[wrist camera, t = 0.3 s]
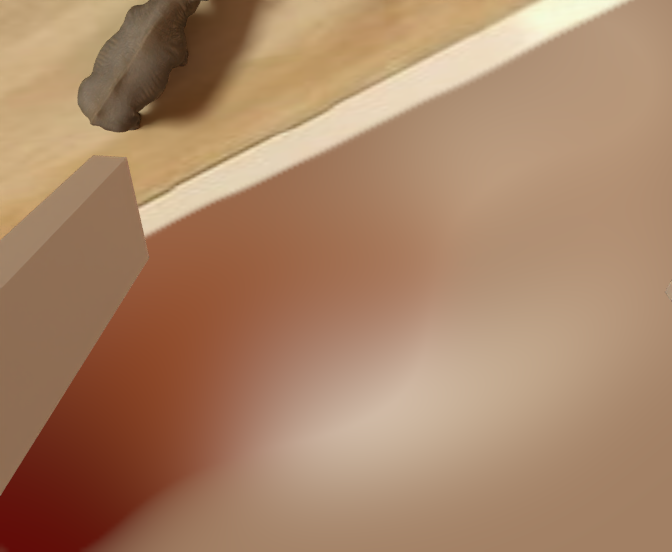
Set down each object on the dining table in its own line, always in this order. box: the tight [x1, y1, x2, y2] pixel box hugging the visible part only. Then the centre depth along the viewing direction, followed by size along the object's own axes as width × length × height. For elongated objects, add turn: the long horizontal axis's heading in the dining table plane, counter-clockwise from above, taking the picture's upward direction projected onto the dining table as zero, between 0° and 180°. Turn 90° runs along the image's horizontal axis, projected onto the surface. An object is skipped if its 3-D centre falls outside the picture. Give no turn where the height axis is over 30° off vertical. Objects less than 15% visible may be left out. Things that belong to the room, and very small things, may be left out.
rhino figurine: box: [78, 0, 207, 132], centre depth 32 cm, size 4×14×6 cm, turn 139°
